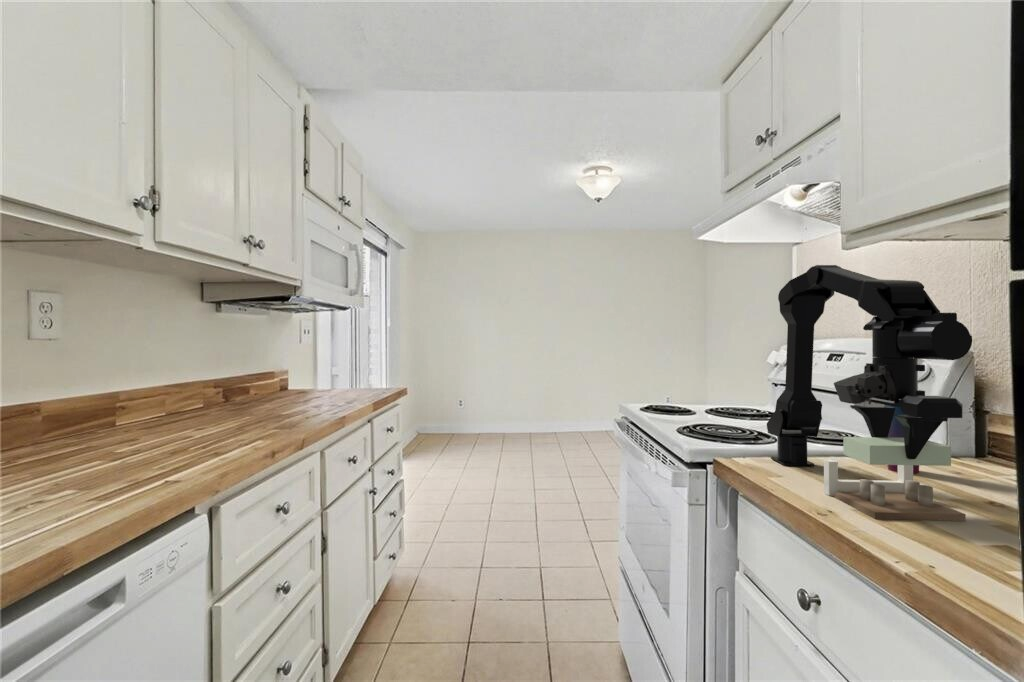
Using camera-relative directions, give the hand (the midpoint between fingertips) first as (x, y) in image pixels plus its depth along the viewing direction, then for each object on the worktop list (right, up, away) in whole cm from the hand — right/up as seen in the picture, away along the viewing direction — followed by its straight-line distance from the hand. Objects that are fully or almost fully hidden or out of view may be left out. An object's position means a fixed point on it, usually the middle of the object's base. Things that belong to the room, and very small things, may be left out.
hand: (894, 453), depth 76 cm
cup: (+20, -9, +23) cm, 31 cm away
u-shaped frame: (0, -9, +6) cm, 11 cm away
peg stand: (0, -9, 0) cm, 9 cm away
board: (0, -1, 0) cm, 1 cm away
